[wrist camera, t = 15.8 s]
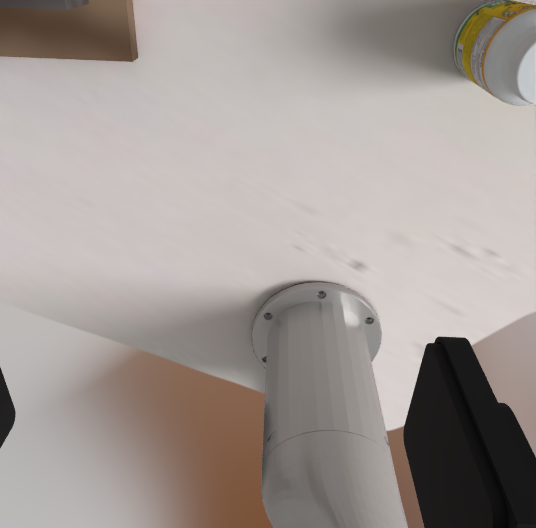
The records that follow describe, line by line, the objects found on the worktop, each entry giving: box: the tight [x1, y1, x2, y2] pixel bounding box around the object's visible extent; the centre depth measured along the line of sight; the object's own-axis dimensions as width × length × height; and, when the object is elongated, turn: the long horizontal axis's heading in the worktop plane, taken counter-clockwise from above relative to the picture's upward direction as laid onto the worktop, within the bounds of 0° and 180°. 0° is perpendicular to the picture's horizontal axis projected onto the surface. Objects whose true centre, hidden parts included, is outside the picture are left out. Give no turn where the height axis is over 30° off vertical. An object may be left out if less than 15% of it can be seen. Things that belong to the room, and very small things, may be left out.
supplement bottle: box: [453, 0, 536, 106], centre depth 31 cm, size 5×5×10 cm
